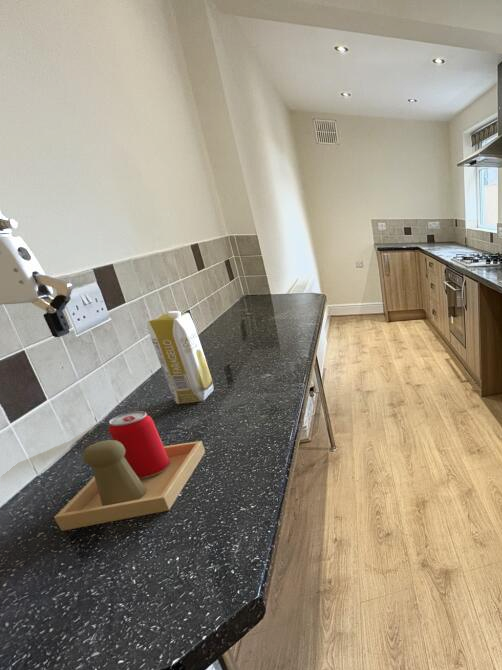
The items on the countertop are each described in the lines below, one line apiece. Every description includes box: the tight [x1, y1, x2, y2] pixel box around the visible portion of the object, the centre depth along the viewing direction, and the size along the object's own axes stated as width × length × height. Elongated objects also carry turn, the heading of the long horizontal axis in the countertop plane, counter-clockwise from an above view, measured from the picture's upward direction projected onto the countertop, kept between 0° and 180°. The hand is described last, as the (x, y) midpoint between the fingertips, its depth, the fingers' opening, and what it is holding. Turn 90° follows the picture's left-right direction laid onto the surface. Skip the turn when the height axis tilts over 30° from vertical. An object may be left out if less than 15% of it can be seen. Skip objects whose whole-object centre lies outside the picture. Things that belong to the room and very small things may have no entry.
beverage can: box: [108, 410, 170, 479], centre depth 78 cm, size 6×6×12 cm
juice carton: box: [146, 310, 215, 405], centre depth 108 cm, size 9×8×24 cm
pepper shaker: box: [81, 439, 147, 506], centre depth 71 cm, size 6×6×11 cm
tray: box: [53, 440, 206, 532], centre depth 76 cm, size 15×20×3 cm
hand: (24, 338), depth 68 cm, fingers open, 9 cm apart
